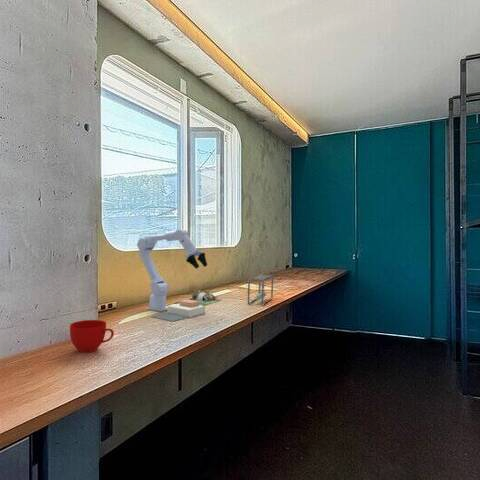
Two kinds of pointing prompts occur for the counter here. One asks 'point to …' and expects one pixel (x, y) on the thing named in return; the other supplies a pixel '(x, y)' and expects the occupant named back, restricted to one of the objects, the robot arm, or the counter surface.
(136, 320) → the counter surface
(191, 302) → the tile
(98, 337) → the ceramic cup
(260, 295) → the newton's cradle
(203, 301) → the decorative card
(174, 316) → the mat
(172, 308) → the white platform
